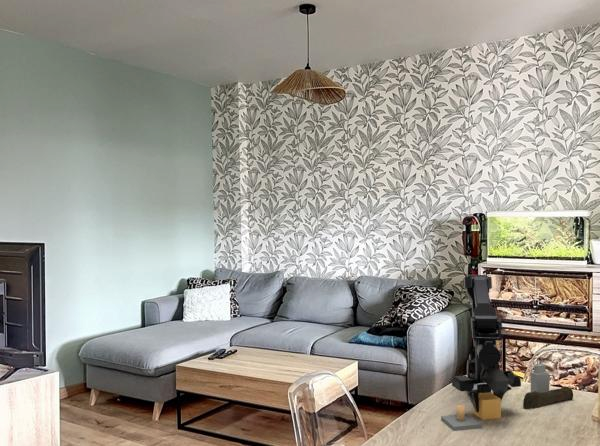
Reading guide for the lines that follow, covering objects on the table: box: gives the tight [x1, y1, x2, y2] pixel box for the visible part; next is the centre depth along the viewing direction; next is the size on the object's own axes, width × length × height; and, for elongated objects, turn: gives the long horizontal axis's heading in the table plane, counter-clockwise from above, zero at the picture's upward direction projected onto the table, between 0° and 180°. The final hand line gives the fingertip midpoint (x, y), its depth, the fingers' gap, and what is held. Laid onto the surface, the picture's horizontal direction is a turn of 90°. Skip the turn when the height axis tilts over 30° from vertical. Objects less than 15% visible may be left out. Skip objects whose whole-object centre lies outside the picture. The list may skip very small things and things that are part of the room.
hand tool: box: [522, 385, 574, 410], centre depth 169 cm, size 19×4×5 cm, turn 113°
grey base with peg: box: [440, 404, 482, 431], centre depth 154 cm, size 8×8×5 cm
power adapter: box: [530, 356, 550, 393], centre depth 176 cm, size 3×5×12 cm, turn 111°
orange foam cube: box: [472, 391, 502, 421], centre depth 160 cm, size 6×6×6 cm
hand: (486, 411), depth 160 cm, fingers closed on orange foam cube, 6 cm apart
